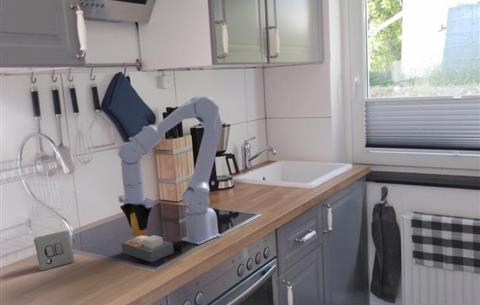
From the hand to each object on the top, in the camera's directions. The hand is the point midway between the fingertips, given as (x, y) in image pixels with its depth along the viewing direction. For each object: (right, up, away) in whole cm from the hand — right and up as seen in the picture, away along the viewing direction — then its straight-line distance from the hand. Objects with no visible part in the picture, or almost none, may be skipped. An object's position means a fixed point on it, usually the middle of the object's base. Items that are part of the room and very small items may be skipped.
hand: (138, 228), depth 134 cm
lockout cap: (0, -2, 0) cm, 2 cm away
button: (+5, -5, -4) cm, 8 cm away
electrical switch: (-23, -10, -4) cm, 25 cm away
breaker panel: (+3, -7, -1) cm, 8 cm away
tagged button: (+1, -6, +1) cm, 6 cm away
